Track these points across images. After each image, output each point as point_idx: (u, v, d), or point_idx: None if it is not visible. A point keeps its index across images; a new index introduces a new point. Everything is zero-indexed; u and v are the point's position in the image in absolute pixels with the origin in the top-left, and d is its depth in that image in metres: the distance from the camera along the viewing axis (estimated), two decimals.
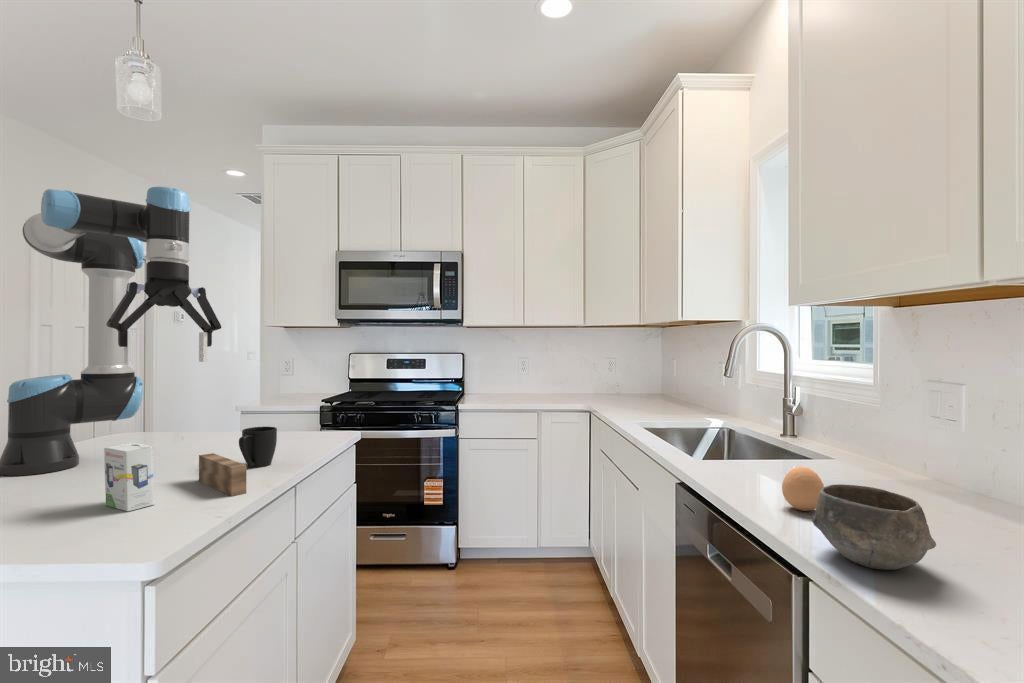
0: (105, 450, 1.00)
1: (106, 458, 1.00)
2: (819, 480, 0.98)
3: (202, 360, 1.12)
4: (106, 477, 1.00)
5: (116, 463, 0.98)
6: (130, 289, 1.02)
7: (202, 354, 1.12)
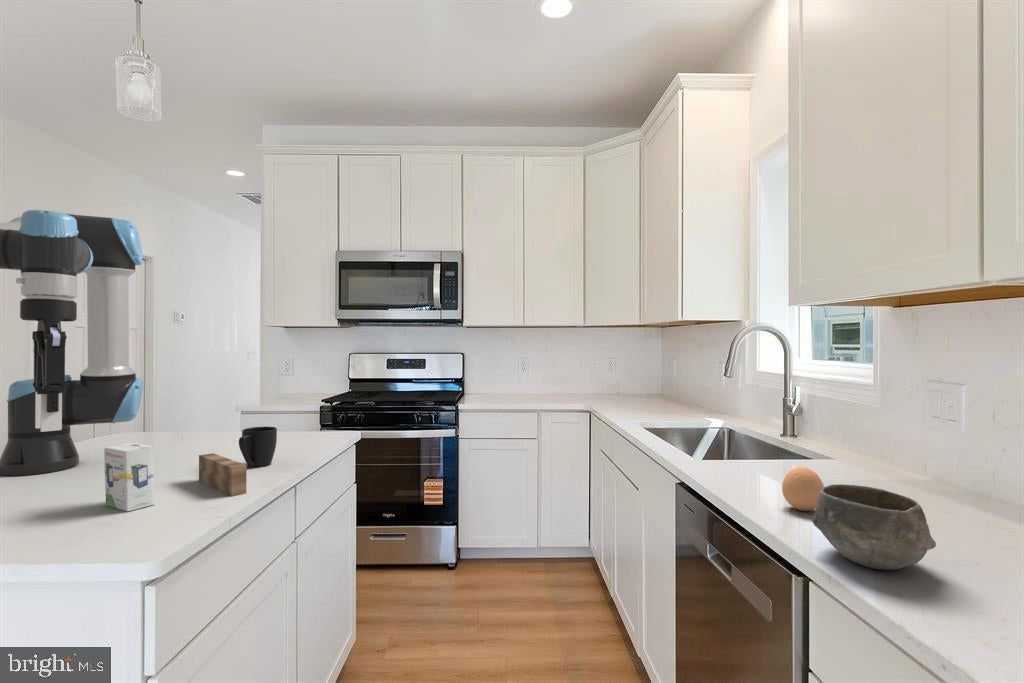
0: (105, 450, 1.00)
1: (106, 458, 1.00)
2: (819, 480, 0.98)
3: None
4: (106, 477, 1.00)
5: (116, 463, 0.98)
6: None
7: None
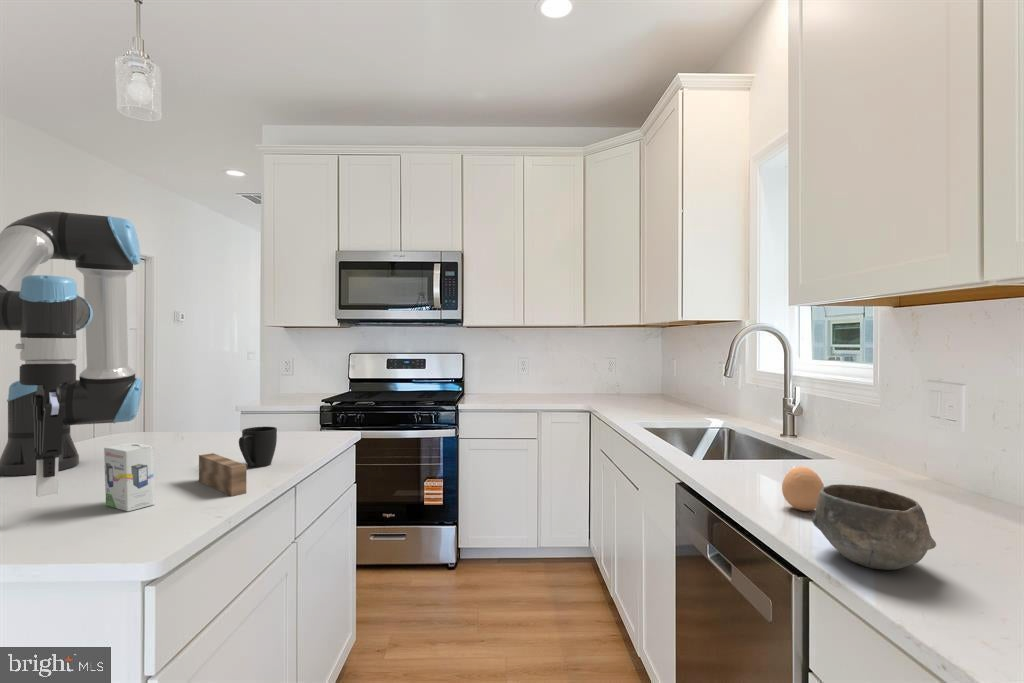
0: (105, 450, 1.00)
1: (106, 458, 1.00)
2: (819, 480, 0.98)
3: None
4: (106, 477, 1.00)
5: (116, 463, 0.98)
6: None
7: None
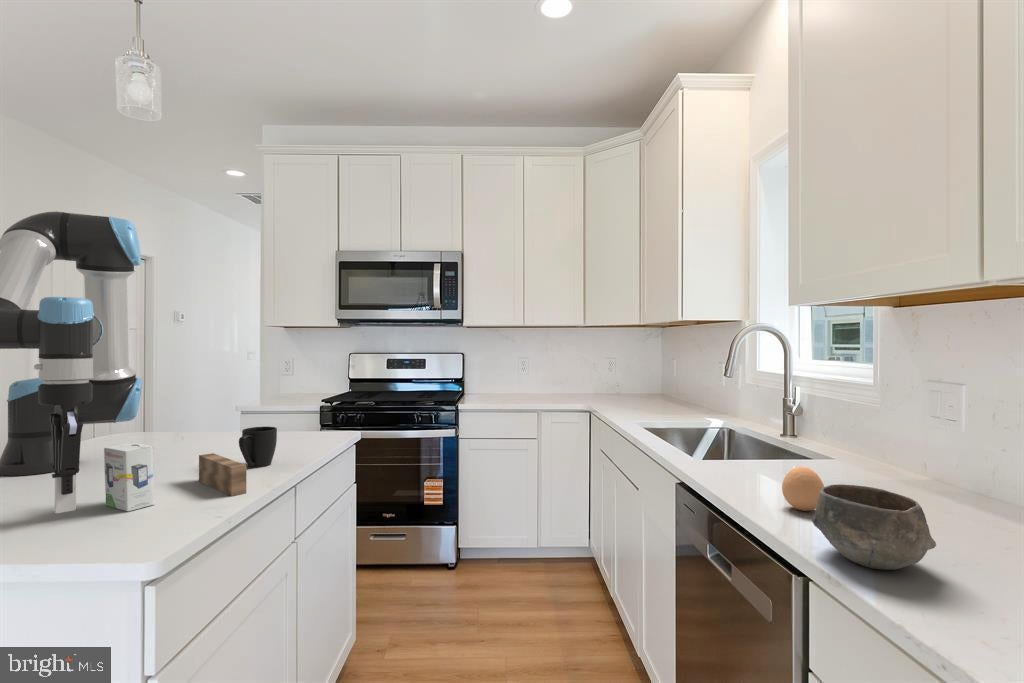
0: (105, 450, 1.00)
1: (106, 458, 1.00)
2: (819, 480, 0.98)
3: None
4: (106, 477, 1.00)
5: (116, 463, 0.98)
6: None
7: None
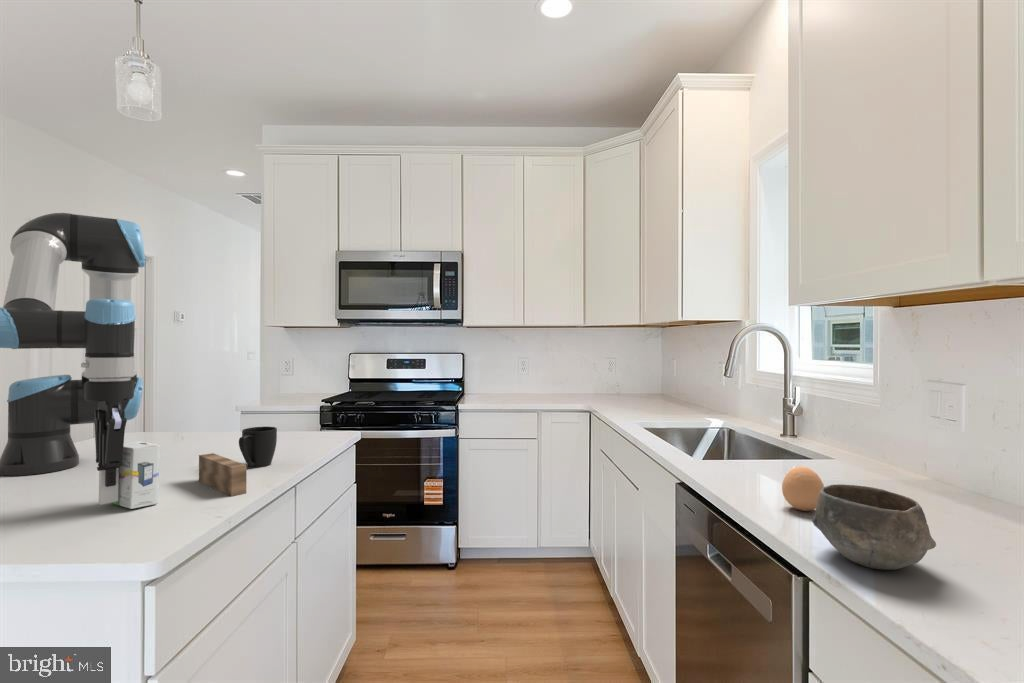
0: None
1: None
2: (819, 480, 0.98)
3: None
4: None
5: (123, 460, 0.99)
6: None
7: None
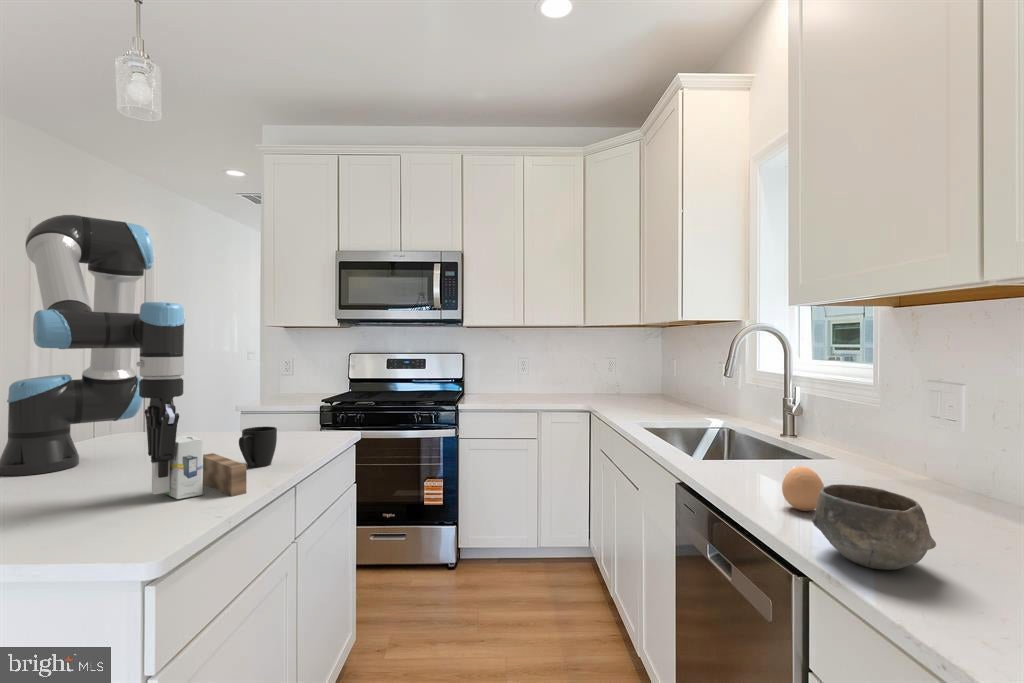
0: None
1: None
2: (819, 480, 0.98)
3: None
4: None
5: None
6: None
7: None
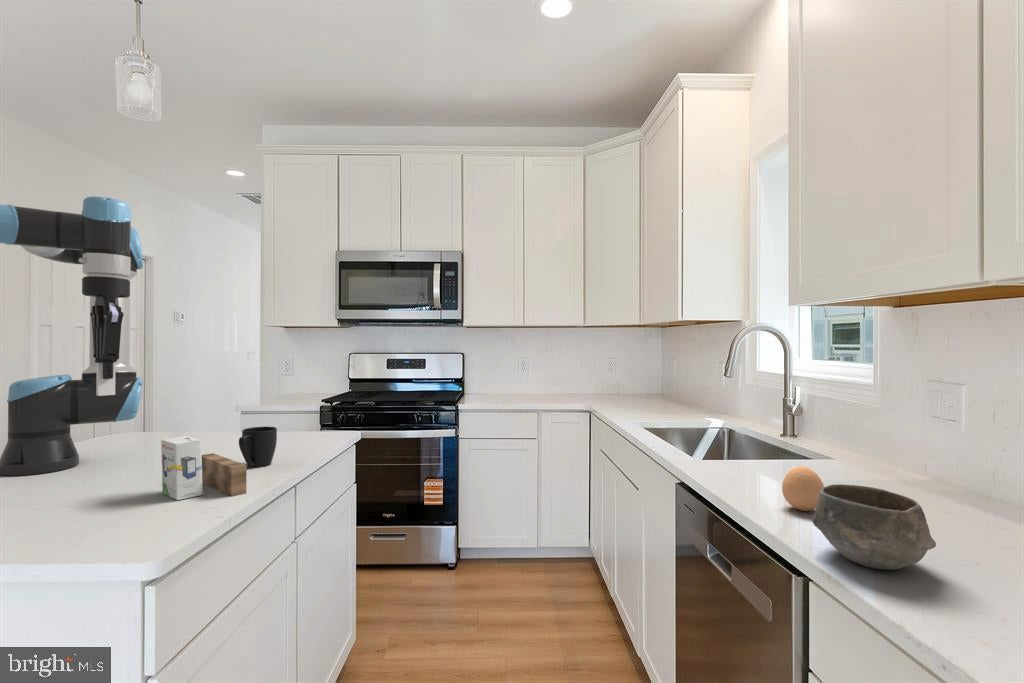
0: (162, 442, 1.08)
1: (163, 449, 1.08)
2: (819, 480, 0.98)
3: None
4: (162, 467, 1.08)
5: (169, 455, 1.05)
6: None
7: None
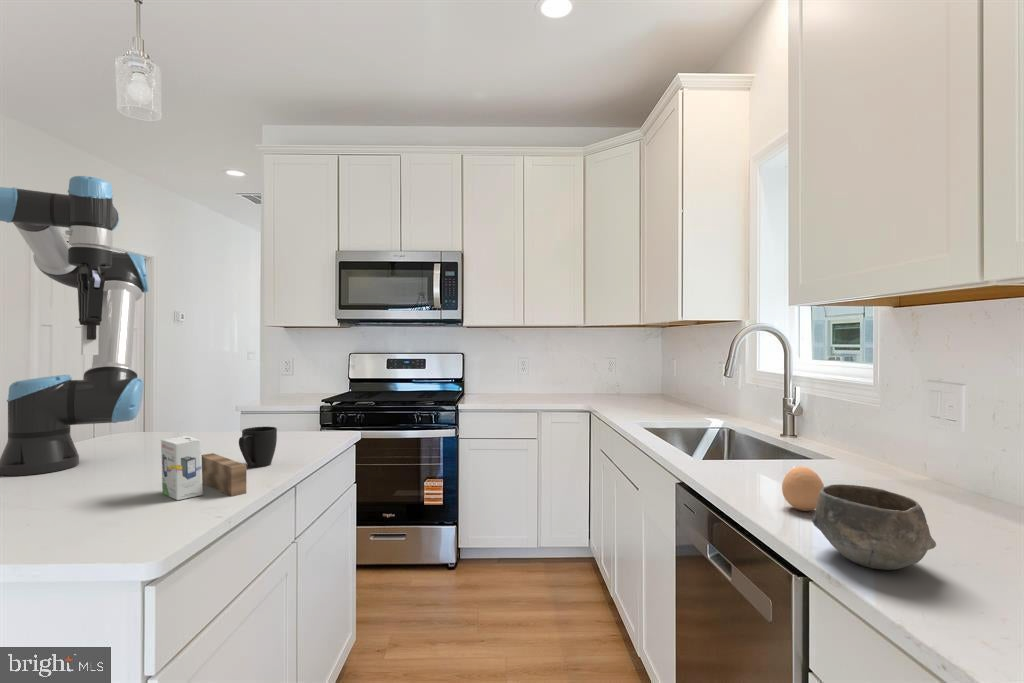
0: (162, 442, 1.08)
1: (162, 449, 1.08)
2: (819, 480, 0.98)
3: None
4: (162, 467, 1.08)
5: (169, 455, 1.05)
6: None
7: None
